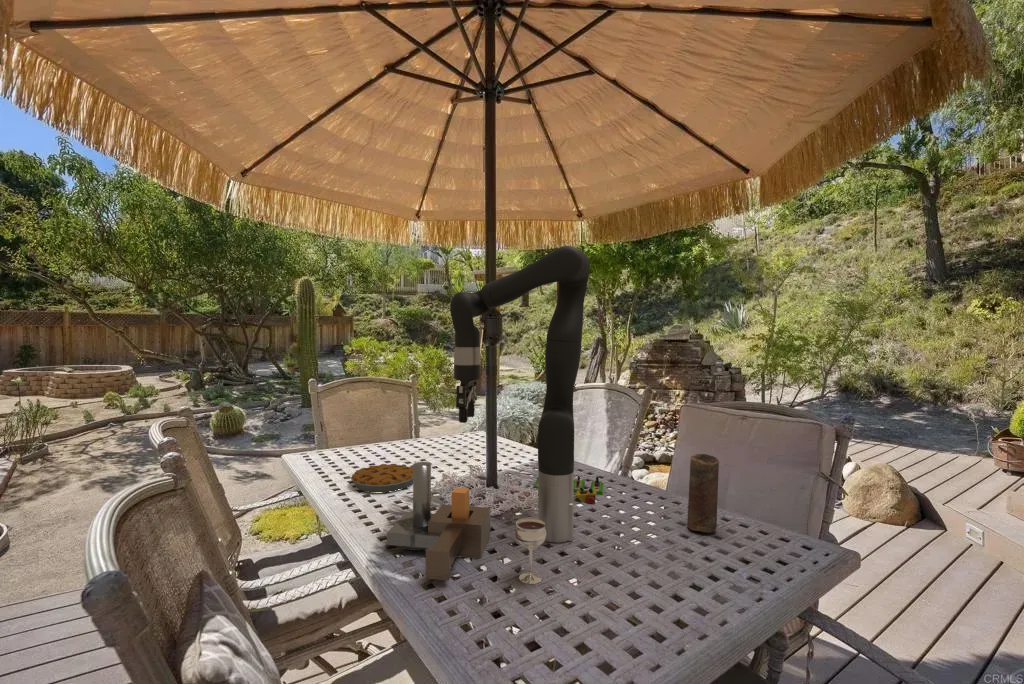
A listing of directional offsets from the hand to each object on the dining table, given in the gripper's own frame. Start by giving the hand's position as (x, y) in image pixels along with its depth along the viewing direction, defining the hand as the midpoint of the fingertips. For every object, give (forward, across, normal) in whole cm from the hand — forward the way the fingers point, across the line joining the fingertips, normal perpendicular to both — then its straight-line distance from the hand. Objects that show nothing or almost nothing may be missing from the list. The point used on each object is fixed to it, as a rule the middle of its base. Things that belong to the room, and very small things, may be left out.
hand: (466, 419), depth 136 cm
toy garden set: (+29, +26, -28) cm, 48 cm away
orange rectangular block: (+28, -18, -3) cm, 33 cm away
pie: (+29, +23, +35) cm, 51 cm away
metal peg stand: (+28, -18, +7) cm, 34 cm away
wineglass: (+28, -30, -22) cm, 47 cm away
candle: (+28, +2, -65) cm, 71 cm away
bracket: (+28, -25, -3) cm, 37 cm away
